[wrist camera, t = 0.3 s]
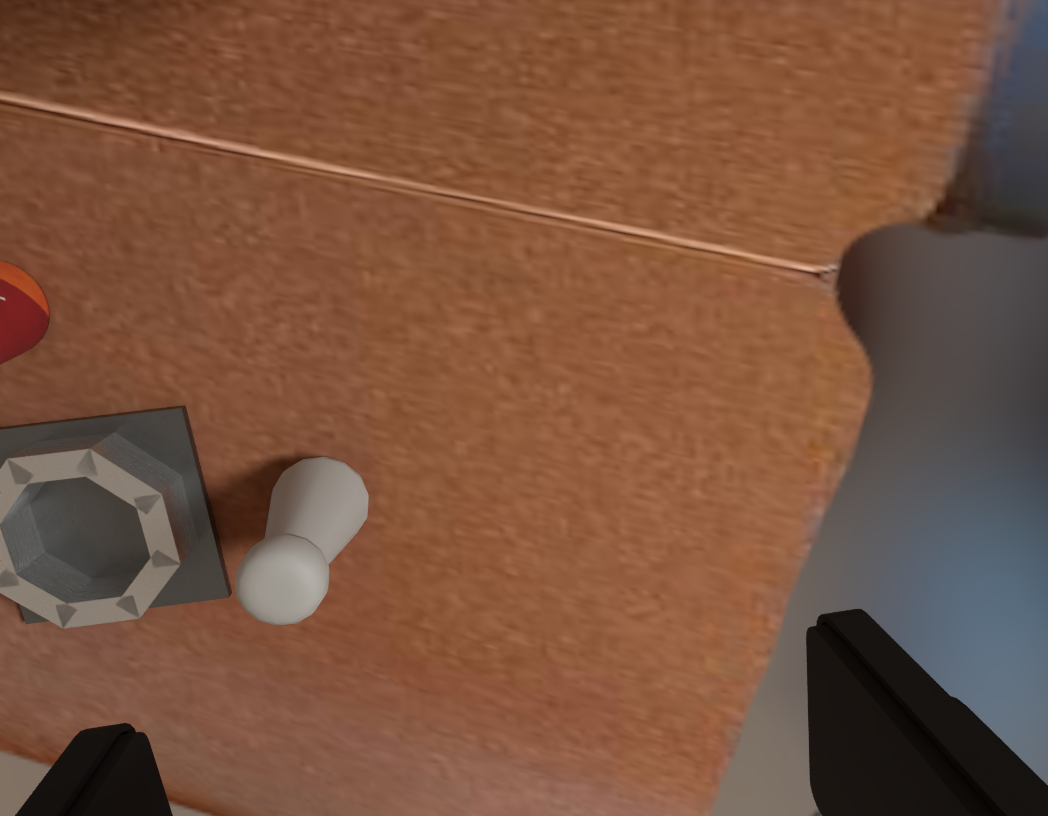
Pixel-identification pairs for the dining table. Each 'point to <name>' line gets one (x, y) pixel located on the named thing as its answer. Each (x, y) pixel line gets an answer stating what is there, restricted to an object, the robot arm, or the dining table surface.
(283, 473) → the grey peg
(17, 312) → the paper cup
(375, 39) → the dining table surface
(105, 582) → the ring collar
